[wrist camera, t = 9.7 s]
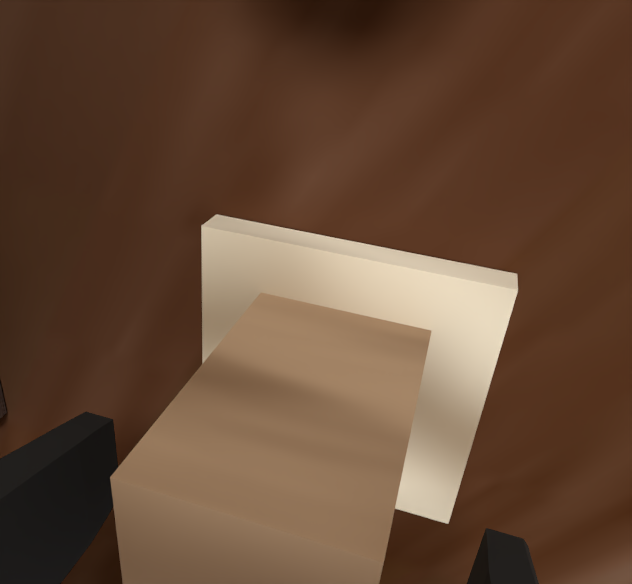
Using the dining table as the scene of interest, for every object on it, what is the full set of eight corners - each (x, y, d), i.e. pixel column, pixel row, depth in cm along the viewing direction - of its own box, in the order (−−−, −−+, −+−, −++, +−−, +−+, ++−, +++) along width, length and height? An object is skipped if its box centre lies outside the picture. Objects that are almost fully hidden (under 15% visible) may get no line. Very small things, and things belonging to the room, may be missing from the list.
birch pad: (450, 500, 16) (448, 523, 15) (215, 434, 17) (202, 452, 16) (516, 273, 12) (518, 290, 11) (216, 214, 14) (201, 225, 13)
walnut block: (402, 463, 14) (347, 720, 9) (254, 422, 15) (129, 638, 10) (431, 330, 12) (383, 562, 7) (260, 292, 13) (110, 476, 8)
